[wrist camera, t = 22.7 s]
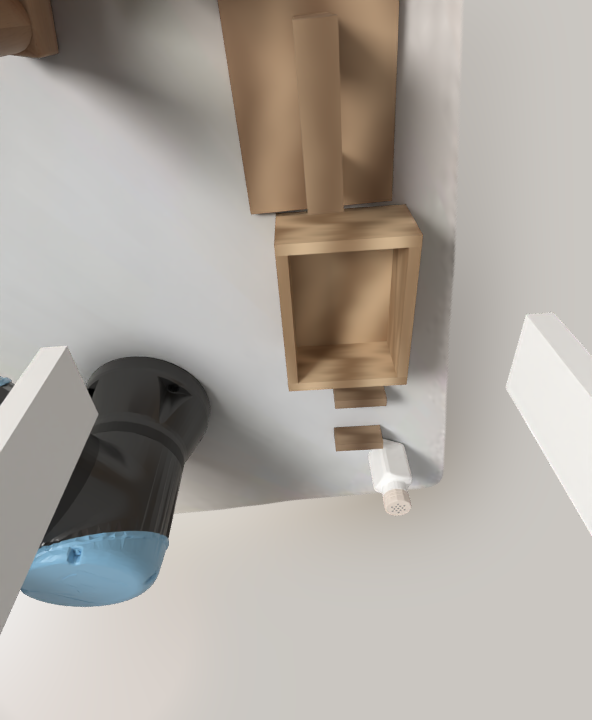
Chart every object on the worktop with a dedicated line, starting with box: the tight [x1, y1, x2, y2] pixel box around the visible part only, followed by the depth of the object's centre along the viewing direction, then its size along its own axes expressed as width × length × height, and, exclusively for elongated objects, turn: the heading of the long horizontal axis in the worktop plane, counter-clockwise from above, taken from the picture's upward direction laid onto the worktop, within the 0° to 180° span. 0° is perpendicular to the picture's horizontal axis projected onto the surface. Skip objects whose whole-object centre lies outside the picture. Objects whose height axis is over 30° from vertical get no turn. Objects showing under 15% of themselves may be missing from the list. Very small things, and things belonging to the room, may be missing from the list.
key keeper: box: [333, 386, 387, 451], centre depth 58 cm, size 6×9×3 cm
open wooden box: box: [274, 204, 423, 391], centre depth 45 cm, size 12×16×7 cm
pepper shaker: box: [368, 439, 412, 516], centre depth 60 cm, size 4×4×10 cm
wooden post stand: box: [218, 0, 399, 215], centre depth 34 cm, size 13×17×10 cm
